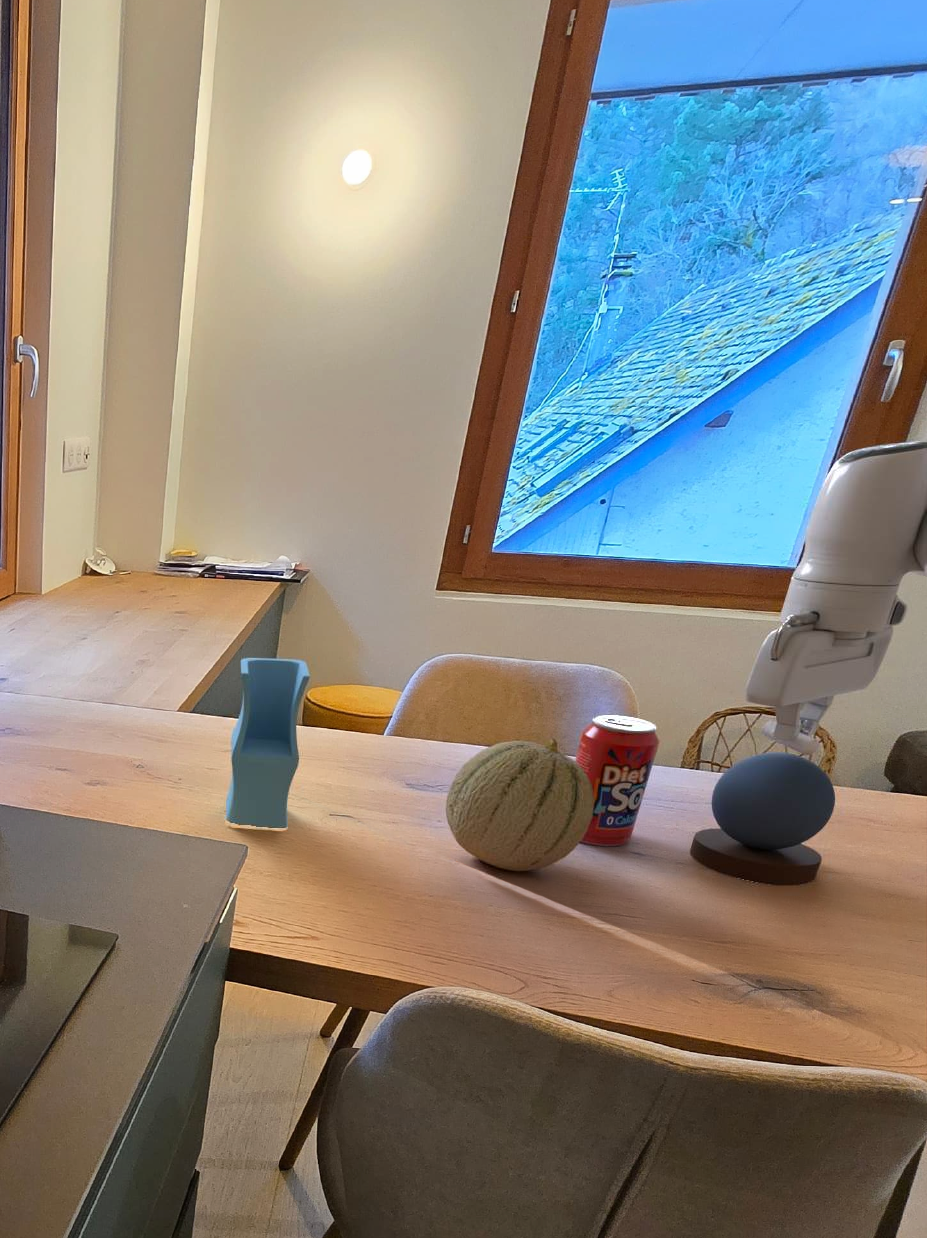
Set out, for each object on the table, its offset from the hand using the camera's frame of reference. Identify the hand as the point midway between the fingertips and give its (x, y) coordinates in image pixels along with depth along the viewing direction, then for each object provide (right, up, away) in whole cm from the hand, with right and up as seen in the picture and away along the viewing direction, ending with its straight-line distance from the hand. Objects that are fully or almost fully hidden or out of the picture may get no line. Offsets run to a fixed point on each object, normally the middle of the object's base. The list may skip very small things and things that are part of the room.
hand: (793, 736), depth 113 cm
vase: (-54, -8, +20) cm, 58 cm away
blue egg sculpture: (0, -14, +6) cm, 16 cm away
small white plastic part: (0, -2, +1) cm, 2 cm away
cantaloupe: (-29, -14, +6) cm, 33 cm away
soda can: (-14, -11, +14) cm, 22 cm away
